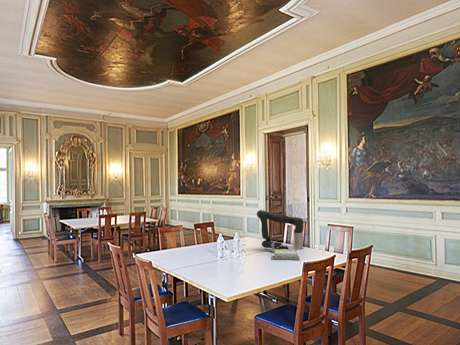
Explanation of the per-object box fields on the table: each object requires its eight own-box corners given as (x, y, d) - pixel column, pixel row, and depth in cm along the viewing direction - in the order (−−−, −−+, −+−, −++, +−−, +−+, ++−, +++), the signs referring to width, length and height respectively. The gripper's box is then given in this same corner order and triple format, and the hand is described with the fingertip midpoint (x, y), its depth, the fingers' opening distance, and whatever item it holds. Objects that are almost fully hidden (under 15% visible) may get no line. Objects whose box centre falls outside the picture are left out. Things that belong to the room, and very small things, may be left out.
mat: (271, 256, 311) (271, 255, 311) (298, 256, 307) (298, 256, 307) (271, 259, 295) (271, 259, 295) (299, 260, 291) (299, 260, 291)
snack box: (296, 249, 308) (297, 253, 293) (296, 254, 308) (298, 259, 293) (274, 248, 311) (274, 253, 296) (274, 254, 311) (274, 259, 296)
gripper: (271, 242, 323) (282, 245, 309) (281, 241, 330) (292, 243, 315) (271, 250, 323) (282, 253, 308) (281, 248, 330) (293, 251, 315)
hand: (287, 248), depth 312 cm, fingers closed
